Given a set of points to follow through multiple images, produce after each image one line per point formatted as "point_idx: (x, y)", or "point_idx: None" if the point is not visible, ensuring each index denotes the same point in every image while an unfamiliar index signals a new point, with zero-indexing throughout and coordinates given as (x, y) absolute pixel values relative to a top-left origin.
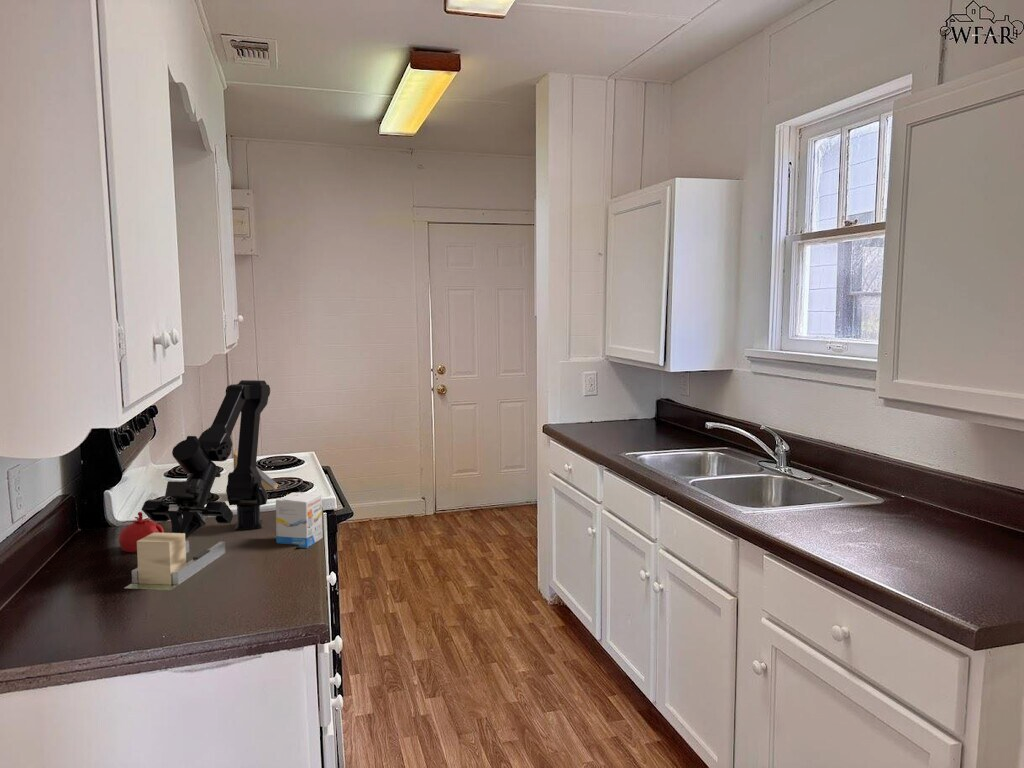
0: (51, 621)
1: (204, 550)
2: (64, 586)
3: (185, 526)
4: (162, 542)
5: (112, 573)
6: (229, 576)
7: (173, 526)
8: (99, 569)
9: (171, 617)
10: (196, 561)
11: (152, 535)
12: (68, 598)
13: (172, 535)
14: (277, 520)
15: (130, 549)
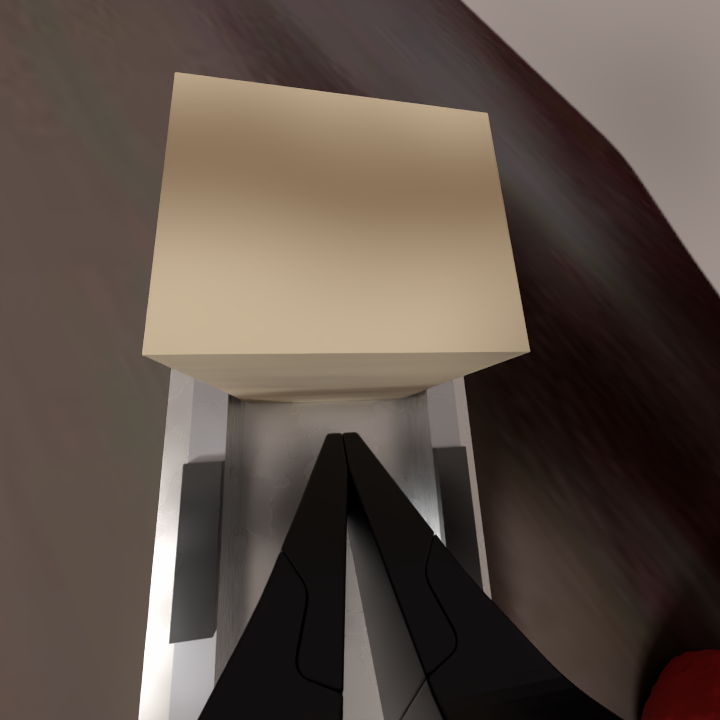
0: (454, 76)
1: (204, 617)
2: (621, 285)
3: (261, 615)
4: (251, 88)
5: (578, 412)
6: (36, 454)
7: (447, 579)
8: (652, 445)
9: (122, 73)
10: (191, 439)
11: (471, 256)
12: (533, 203)
13: (263, 266)
14: None
15: (715, 653)
